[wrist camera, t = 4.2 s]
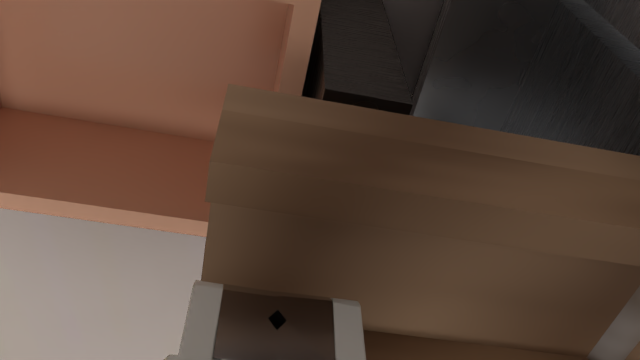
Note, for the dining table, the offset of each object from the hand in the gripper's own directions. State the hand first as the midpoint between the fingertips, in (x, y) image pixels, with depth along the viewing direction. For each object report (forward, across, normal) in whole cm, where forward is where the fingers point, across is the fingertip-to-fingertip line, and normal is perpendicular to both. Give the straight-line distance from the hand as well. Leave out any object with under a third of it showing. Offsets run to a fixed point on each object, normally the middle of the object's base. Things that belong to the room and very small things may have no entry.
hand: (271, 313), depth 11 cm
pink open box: (+11, +5, 0) cm, 12 cm away
